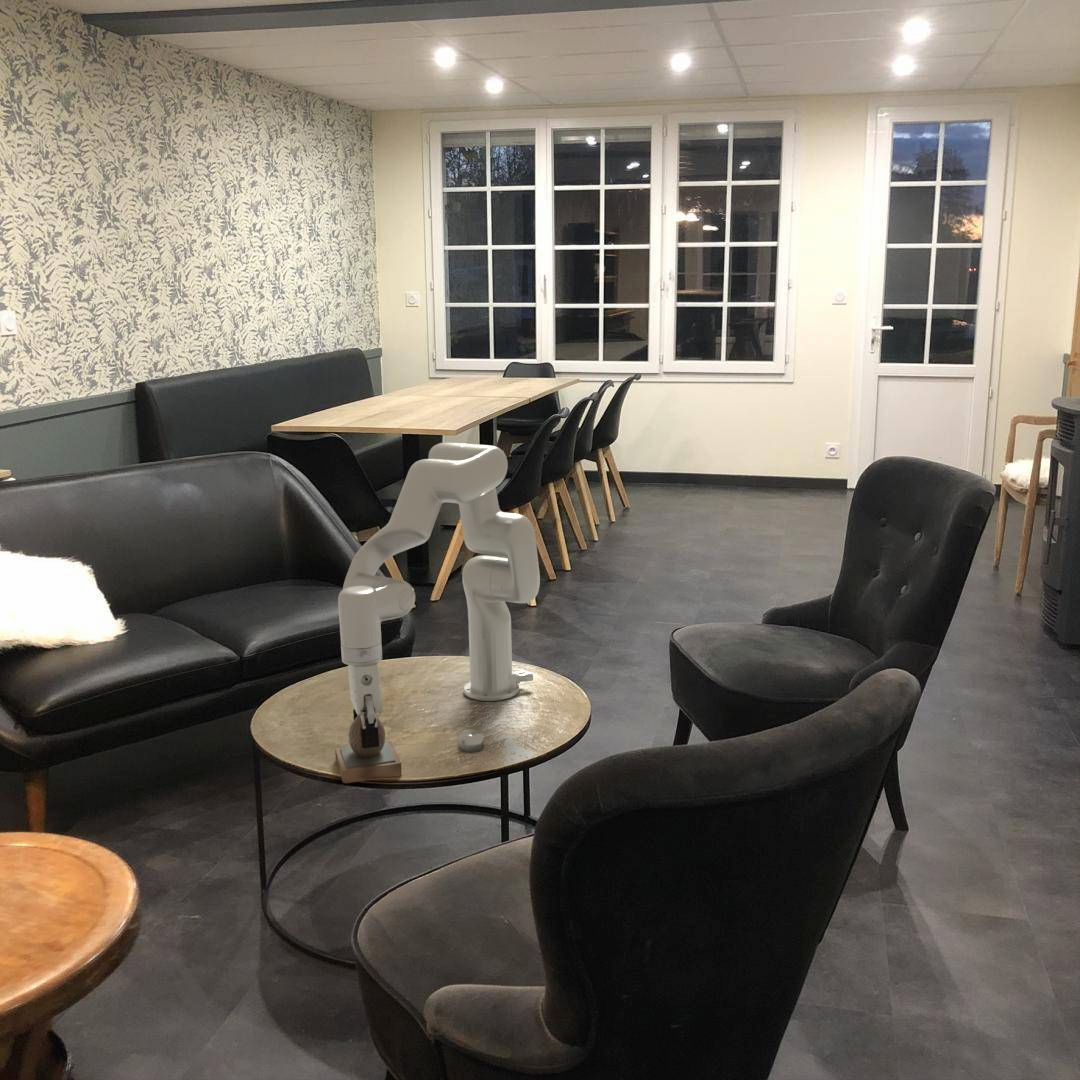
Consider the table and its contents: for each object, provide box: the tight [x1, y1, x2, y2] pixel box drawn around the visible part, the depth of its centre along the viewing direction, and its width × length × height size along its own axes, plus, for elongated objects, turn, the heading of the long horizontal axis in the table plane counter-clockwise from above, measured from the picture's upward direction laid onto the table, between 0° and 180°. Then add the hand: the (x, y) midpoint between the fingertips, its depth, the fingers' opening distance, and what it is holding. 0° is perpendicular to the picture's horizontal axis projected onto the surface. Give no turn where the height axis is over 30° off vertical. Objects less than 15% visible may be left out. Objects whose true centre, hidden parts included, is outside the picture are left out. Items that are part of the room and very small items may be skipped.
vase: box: [348, 710, 386, 758], centre depth 213 cm, size 7×7×9 cm
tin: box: [457, 729, 485, 754], centre depth 222 cm, size 5×5×3 cm
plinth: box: [334, 740, 403, 784], centre depth 214 cm, size 11×11×3 cm
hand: (366, 737), depth 213 cm, fingers open, 9 cm apart
